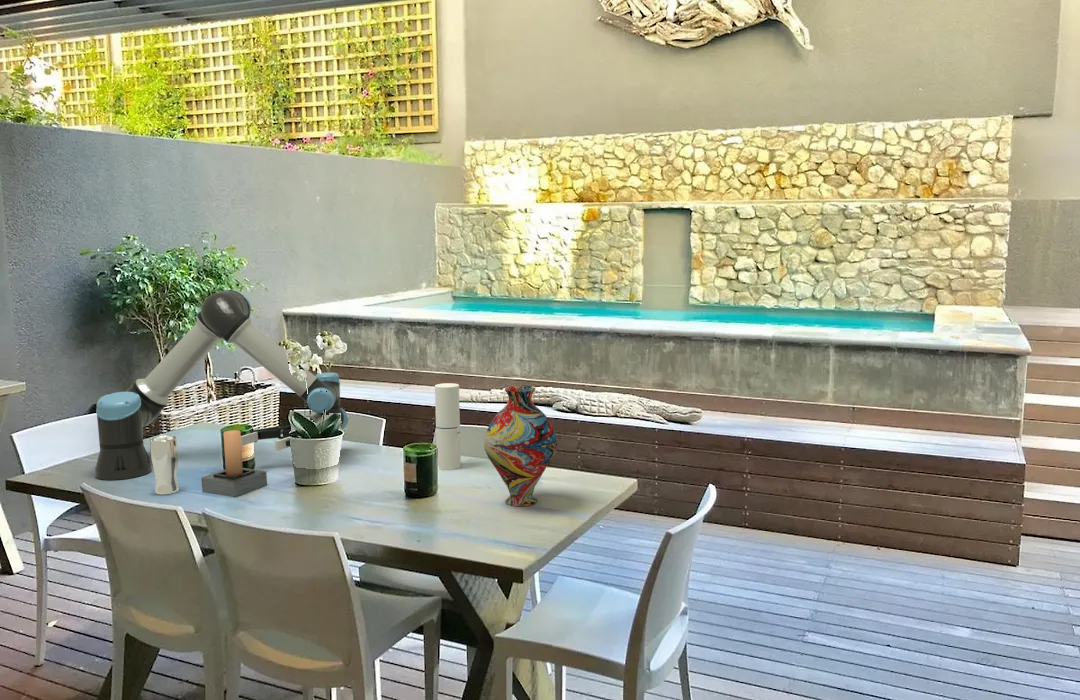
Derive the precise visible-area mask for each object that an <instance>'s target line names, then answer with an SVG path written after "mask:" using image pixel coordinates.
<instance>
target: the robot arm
mask: <svg viewBox="0 0 1080 700" xmlns="http://www.w3.org/2000/svg"><path fill="white" fill-rule="evenodd" d="M202 302H203V303H202V305H201V308H200V311H199V312H198V314H196V323H195V324H194V325H193V326H192V327H191V328H190V330H188V331H187V333H186V334H184V336H183V337H182V338H181V339H180V340H179V341H178V342H177V343H176V344H175V346H174V347H173V348H172V349H171V350H169V352H168V353H167V354H166V355H165V356H164V357H163V358H162V360H161V361H160V362H159V363H158V364H157V365H156V367H154V368H153V370H151V372H149V373H148V374H147V376H146V377H145V378H137V379H136V381H134V382H133V384H132V385H131V386H130V387H129V388H127V390H126V391H117V392H112V393H111V394H105V395H102V396H101V397H100V398H99V399H98V400H97V402H96V409H95V410H96V411H95V412H96V417H97V431H98V432H97V433H98V441H99V442H98V444H99V453H98V457H97V460H96V465H95V467H94V475H95V476H94V477H95V478H96V479H99V480H104V481H105V480H108V481H112V480H113V481H117V480H126V479H127V480H128V479H132V478H133V479H134V478H137V477H141V476H144V475H147V474H149V473H151V472H152V470H153V466H152V462H151V458H150V455H149V454H148V452H147V450H146V447H145V444H144V436H143V435H144V433H143V432H144V431H143V428H145V427H147V426H149V425H150V424H152V423H154V422H155V421H156V420H157V419H158V418H159V416H160V414H161V412H162V411H163V410H164V409H165V408H166V406H167V405H169V403H170V400H169V399H170V398H169V396H170V395H171V394H172V392H174V390H175V389H176V388H177V387H178V386H180V385H181V383H182V382H183V381H184V379H186V378H187V377H188V376H189V374H190V373H191V372H192V371H193V370H194V369H195V368H196V367H197V365H199V364H200V362H201V361H202V360H203V359H204V358H205V357H206V356H207V355H208V354H209V353H210V352H211V351H212V350H213V348H214V347H216V345H217V344H218V343H219V342H220V341H225V342H226V343H228V344H235V346H237V347H238V348H240V350H242V351H243V352H244V353H245V354H247V355H248V356H249V357H251V358H252V359H254V361H256V363H258V364H259V365H260V366H262V367H263V368H264V369H265V370H267V371H268V372H269V373H270V374H271V375H273V376H274V377H275V378H277V379H278V380H279V381H280V382H281V383H282V384H284V385H285V386H286V387H288V388H289V389H290V390H291V391H292V392H294V393H295V394H296V395H297V396H299V397H300V398H301V399H302V400H303V401H305V403H307V406H308V408H309V409H310V411H312V412H314V413H311V414H308V415H305V416H306V417H310V418H311V419H312V420H313V422H315V423H318V422H319V421H320V420H321V418H322V415H323V411H324V409H325V408H326V415H329V413H341V421H342V425H341V428H342V430H344V429H345V428H346V427H347V425H348V422H349V416H348V415H347V412H346V410H345V409H344V408H343V407H341V388H340V386H341V382H340V375H339V374H338V373H337V372H320V373H321V374H320V373H317V374H316V375H315V374H313V373H311V371H309V370H308V369H307V371H306V374H307V388H308V394H307V388H306V381H305V380H303V381H299V380H298V379H297V378H296V377H295V376H293V375H291V373H290V370H289V365H288V360H287V355H286V353H287V352H286V351H285V350H284V349H283V348H282V347H281V346H279V345H278V344H277V343H275V342H274V341H273V340H272V339H270V337H269V336H267V335H265V333H263V332H262V331H261V330H260V329H259V328H258V327H256V326H255V325H254V324H253V323H252V319H251V318H250V316H251V313H252V306H251V302H250V300H249V298H248V297H247V296H246V295H245V294H244V293H242V292H240V291H238V290H234V289H224V290H221V291H219V292H218V291H217V292H215V293H212V294H210V295H209V296H208V297H206V298H205V300H204V301H202ZM326 391H327V392H326ZM291 425H292V424H291ZM291 425H286V426H283V425H282V424H281V425H277V426H272V427H266V428H260V429H251V430H252V433H251V432H250V433H248V434H244V435H241V447H243V446H246V445H250V444H252V443H257V442H258V441H260V440H269V439H278V440H275V442H274V443H275V451H281V450H285V449H287V448H291V447H292V446H291V445H290V437H289V432H290V431H291Z"/></svg>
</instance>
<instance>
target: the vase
mask: <svg viewBox="0 0 1080 700" xmlns="http://www.w3.org/2000/svg"><path fill="white" fill-rule="evenodd" d="M504 391H505V393H506V394H507V396H508V401H507V403H506V404H505V406H503V408H501V409H500V410H499V411H498V412H497V413H496V414H495V416H493V418H492V420H491V421H490V424H488V427H487V430H486V432H485V434H484V435H485V436H484V441H483V442H484V445H483V446H484V447H483V449H484V451H485V454H486V455H487V458H488V459H489V460H490V462H491V464H492V465H493V468H494V469H495V470H496V471H497V473H498V474H499V475H498V476H500V478H501V480H502V481H503V482H504V485H505V486H506V487H507V490H508V493H509V496H508V497H507V498H506V500H505V501H504V502H505V504H507V505H510V506H513V507H529V506H532V505H535V504H537V503H538V499H537V498H535V497H534V496H533V495H534V494H533V493H534V491H535V488H536V486H537V484H538V482H539V480H540V479H541V477H542V475H543V474H544V472H545V470H546V469H547V468H548V466H549V464H550V463H551V461H552V459H553V458H554V456H555V453H556V452H557V448H558V442H557V441H558V440H557V435H556V431H555V429H554V426H553V425H552V422H551V421H550V420H549V419H550V418H548V417H547V415H546V414H545V413H544V412H543V411H542V410H541V409H539V408H538V407H537V406H536V405H535V404H534V402H533V394H534V392H535V391H536V387H534V386H529V385H516V386H507V387H505V388H504Z"/></svg>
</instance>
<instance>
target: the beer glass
mask: <svg viewBox="0 0 1080 700" xmlns="http://www.w3.org/2000/svg"><path fill="white" fill-rule="evenodd" d="M149 441H150V443H149V444H150V445H149V446H150V447H149V449H150V450H149V451H150V452H149V454H150V455H149V456H150V461H151V465H152V470H153V474H154V477H155V478H154V479H155V486H154V487H155V488H154V493H155V494H156V495H159V496H164V495H165V496H166V495H173V494H175V493H177V492H179V490H180V488H179V485H178V479H177V477H178V476H177V474H178V464H179V447H178V446H179V445H178V439H177V436H175V435H158V436H154V437H151V438H150V439H149Z"/></svg>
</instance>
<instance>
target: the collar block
mask: <svg viewBox="0 0 1080 700" xmlns="http://www.w3.org/2000/svg"><path fill="white" fill-rule="evenodd" d="M242 468H243V474H241V475H238V476H235V477H233V476H226V469H224V470H220V471H218V472H217V471H216V472H213V473H211V474H208V475H205V476H202V477H201V491H202V493H209V494H214V495H219V496H227V497H231V498H232V497H233V498H237V497H239V496H242V495H245V494H247V493H250V492H252V491H255V490H258V489H260V488H261V489H262V488H263V487H266V486H267V485H268V481H267V480H268V478H267V471H265V470H261V469H260V470H259V469H253V468H245V467H242Z"/></svg>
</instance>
